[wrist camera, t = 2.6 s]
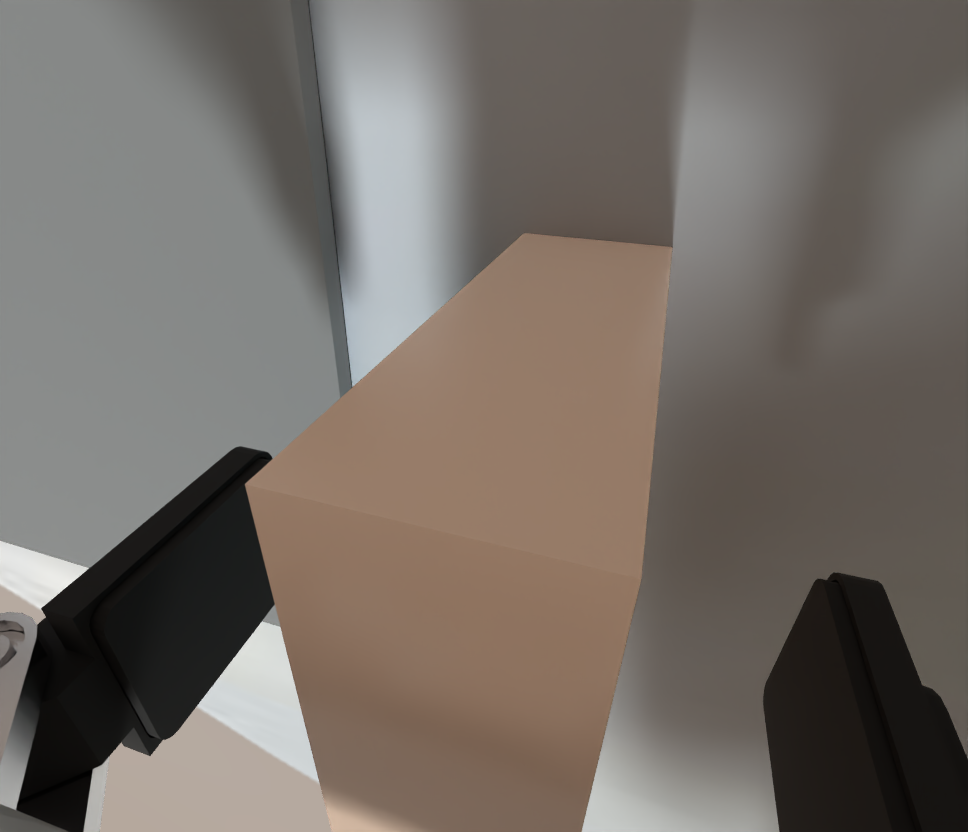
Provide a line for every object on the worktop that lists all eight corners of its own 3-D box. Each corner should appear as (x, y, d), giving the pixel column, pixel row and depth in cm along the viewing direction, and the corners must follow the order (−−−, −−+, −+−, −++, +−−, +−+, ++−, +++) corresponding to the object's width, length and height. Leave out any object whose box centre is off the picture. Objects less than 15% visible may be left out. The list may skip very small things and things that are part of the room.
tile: (604, 596, 16) (534, 1030, 9) (496, 570, 17) (348, 945, 10) (672, 246, 11) (641, 579, 4) (512, 231, 12) (217, 477, 4)
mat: (380, 641, 20) (372, 654, 20) (13, 531, 25) (0, 540, 24) (282, -230, 9) (259, -248, 9) (-358, -147, 14) (-398, -156, 13)
